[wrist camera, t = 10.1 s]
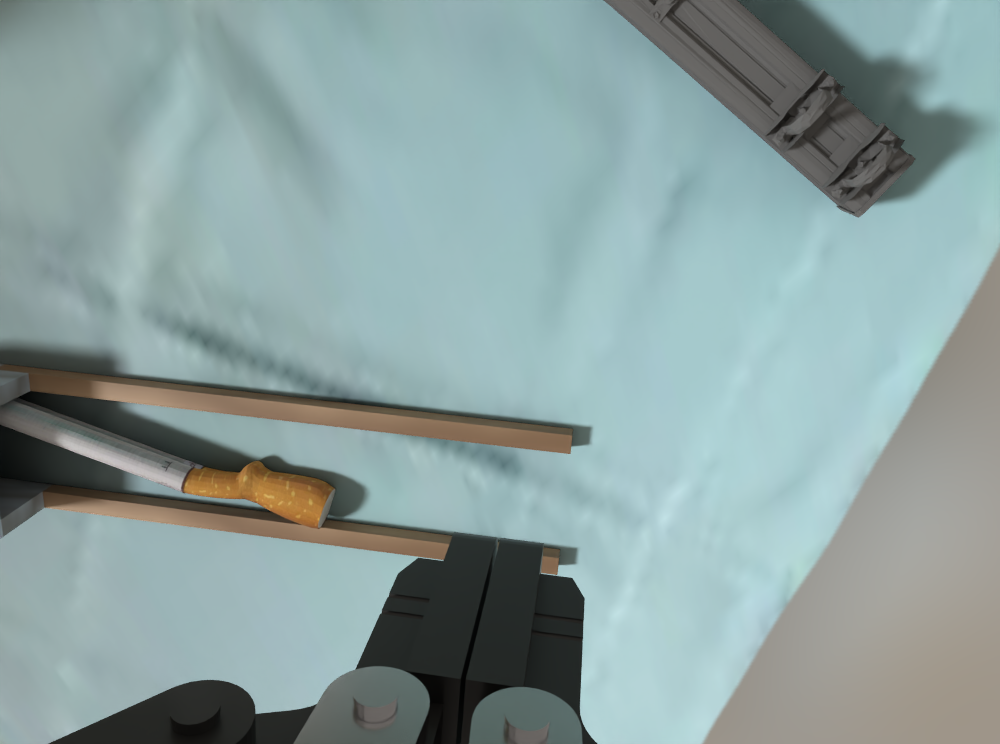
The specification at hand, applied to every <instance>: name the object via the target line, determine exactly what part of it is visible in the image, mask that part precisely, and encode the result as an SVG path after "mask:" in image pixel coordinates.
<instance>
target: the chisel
mask: <svg viewBox="0 0 1000 744" xmlns="http://www.w3.org/2000/svg"><path fill="white" fill-rule="evenodd" d="M0 425H3V426H5V427H8V428H11V429H13V430H16V431H19V432H21V433H24V434H27V435H29V436H32V437H35V438H38V439H40V440H43V441H46V442H48V443H51V444H54V445H56V446H59V447H62V448H65V449H67V450H70V451H73V452H75V453H78V454H81V455H83V456H86V457H89V458H92V459H94V460H97V461H100V462H102V463H105V464H108V465H110V466H113V467H116V468H119V469H121V470H124V471H127V472H129V473H132V474H135V475H137V476H140V477H143V478H146V479H148V480H151V481H154V482H156V483H159V484H162V485H164V486H167V487H170V488H173V489H175V490H178V491H181V492H183V493H188V494H193V495H199V496H206V497H214V498H226V499H247V500H250V501H252V502H255V503H258V504H259V505H261V506H263V507H264V508H266V509H268V510H269V511H271V512H273V513H276V514H278V515H280V516H282V517H284V518H286V519H288V520H291V521H293V522H296V523H298V524H301V525H304V526H307V527H310V528H316V529H320V528H321V527H322V525H323V523H324V521H325V520H326V518H327V515H328V513H329V510H330V507H331V504H332V500H333V497H334V494H335V488H333V487H332V486H331V485H329V484H328V483H327V482H324V481H322V480H319V479H317V478H312V477H307V476H301V475H295V474H288V473H280V472H272V471H271V470H269V469H267V468H266V467H265V466H264V465H263V464H262V463H261V462H260V461H254V462H251V463H250V464H248V465H247V466H245V467H244V468H243V469H242V471H241V472H227V471H221V470H216V469H212V468H208V467H205V466H202V465H200V464H197V463H194V462H191V461H189V460H185V459H182V458H179V457H177V456H174V455H171V454H168V453H166V452H163V451H160V450H158V449H155V448H152V447H150V446H147V445H144V444H141V443H139V442H136V441H133V440H131V439H128V438H125V437H122V436H120V435H117V434H114V433H112V432H109V431H106V430H104V429H101V428H98V427H95V426H93V425H90V424H87V423H85V422H82V421H79V420H76V419H74V418H71V417H68V416H66V415H63V414H60V413H58V412H55V411H52V410H49V409H47V408H44V407H41V406H39V405H36V404H33V403H30V402H28V401H25V400H22V399H20V398H15V399H13V400H11V401H9V402H7V403H5V404H3V405H1V406H0Z"/></svg>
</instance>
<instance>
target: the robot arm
mask: <svg viewBox="0 0 1000 744" xmlns="http://www.w3.org/2000/svg"><path fill="white" fill-rule="evenodd" d="M497 547H498V550H497ZM543 548H544V543H536V542H528V541H520V540H513V539H505V538H501V539H500V542H499V546H498V539H497V538H496V537H488V536H480V535H473V534H465V533H457V532H454V534H453V536H452V538H451V541H450V544H449V547H448V550H447V552H446V555H445V558H444V561H438V560H431V559H423V558H418V559H416V560H415V561H414V562H412V563H411V564H410V565H409V566H407V567H406V568H405V569H403V570H402V571H401V572H400V573H398V575H397V577H396V580H395V582H394V584H393V586H392V589H391V591H390V593H389V597H388V598H387V600H386V602H385V604H384V607H383V609H382V614H380V616H379V618H378V620H377V622H376V625H375V627H374V629H373V631H372V634H371V636H370V638H369V640H368V643H367V645H366V647H365V649H364V652H363V654H362V656H361V658H360V661H359V663H358V665H357V667H356V669H355V670H353V671H350V672H348V673H346V674H344V675H342V676H340V677H339V678H337V679H336V680H334V681H333V682H332V683H331V684H330V685H329V686H328V688H327V689H326V690H325V692H324V693H323V695H322V697H321V698H320V700H319V702H318V703H317V704H316V705H314V706H311V707H307V708H303V709H298V710H291V711H281V712H271V713H261V714H255V705H254V702H253V699H252V698H251V696H250V695H249V694H248V693H247V692H246V691H245V690H244V689H243V688H241V687H239V686H237V685H235V684H232V683H229V682H224V681H219V680H201V681H194V682H189V683H186V684H182V685H179V686H176V687H174V688H171V689H169V690H167V691H165V692H162V693H160V694H158V695H156V696H153V697H151V698H149V699H147V700H145V701H142V702H140V703H138V704H136V705H133V706H131V707H129V708H127V709H125V710H122V711H120V712H118V713H116V714H113V715H111V716H109V717H107V718H105V719H102V720H100V721H98V722H96V723H93V724H91V725H89V726H87V727H85V728H82V729H80V730H78V731H76V732H73V733H71V734H69V735H67V736H65V737H62V738H60V739H58V740H56V741H53V742H51V743H49V744H597V743H596V742H595V741H594V740H593V739H592V738H591V736H590V735H589V734H588V732H587V731H586V729H585V727H584V725H583V723H582V720H581V716H580V689H581V667H582V644H583V642H582V640H583V620H584V597H583V595H582V593H581V592H580V590H579V588H578V587H577V585H576V583H575V582H574V580H573V578H568V577H560V576H553V575H545V574H541V568H542V558H543Z"/></svg>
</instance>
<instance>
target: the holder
mask: <svg viewBox="0 0 1000 744" xmlns="http://www.w3.org/2000/svg"><path fill="white" fill-rule="evenodd" d="M29 391H35V392H44V393H52V394H61V395H70V396H78V397H87V398H95V399H104V400H112V401H121V402H129V403H138V404H147V405H155V406H164V407H172V408H181V409H189V410H198V411H207V412H215V413H224V414H232V415H241V416H249V417H258V418H267V419H275V420H284V421H292V422H301V423H309V424H318V425H326V426H335V427H344V428H352V429H361V430H369V431H378V432H386V433H395V434H404V435H412V436H421V437H429V438H438V439H446V440H455V441H463V442H472V443H481V444H489V445H498V446H506V447H515V448H523V449H532V450H541V451H549V452H558V453H566V454H570V453H571V443H572V434H573V429H570V428H561V427H552V426H543V425H534V424H526V423H517V422H508V421H499V420H491V419H482V418H473V417H464V416H455V415H447V414H438V413H429V412H420V411H411V410H403V409H394V408H385V407H376V406H367V405H359V404H350V403H341V402H332V401H324V400H315V399H306V398H297V397H288V396H280V395H271V394H262V393H253V392H244V391H236V390H227V389H218V388H209V387H200V386H192V385H183V384H174V383H165V382H157V381H148V380H139V379H130V378H121V377H113V376H104V375H95V374H86V373H77V372H69V371H60V370H51V369H42V368H33V367H25V366H16V365H7V364H0V406H1V405H3V404H5V403H7V402H9V401H11V400H13V399H15V398H17V397H19V396H21V395H23V394H25V393H27V392H29ZM43 508H52V509H60V510H67V511H75V512H82V513H90V514H98V515H105V516H113V517H121V518H128V519H136V520H143V521H151V522H159V523H166V524H174V525H182V526H189V527H197V528H204V529H212V530H220V531H227V532H235V533H243V534H250V535H258V536H265V537H273V538H281V539H288V540H296V541H303V542H311V543H319V544H326V545H334V546H342V547H349V548H357V549H364V550H372V551H380V552H387V553H395V554H403V555H410V556H418V557H425V558H433V559H441V560H444V558H445V555H446V552H447V550H448V547H449V544H450V541H451V538H452V536H451V535H443V534H435V533H427V532H419V531H412V530H404V529H396V528H388V527H380V526H373V525H365V524H357V523H349V522H341V521H334V520H325V521H324V523H323V525H322V527H321V528H320V529H316V528H310V527H307V526H304V525H301V524H298V523H296V522H293V521H291V520H288V519H286V518H284V517H282V516H280V515H278V514H276V513H271V512H263V511H256V510H248V509H240V508H232V507H224V506H217V505H209V504H201V503H193V502H185V501H178V500H170V499H162V498H154V497H146V496H139V495H131V494H123V493H115V492H107V491H100V490H92V489H84V488H76V487H68V486H61V485H53V484H45V483H37V482H29V481H22V480H14V479H6V478H0V539H1V538H2V537H4V536H5V535H6V534H8V533H9V532H11V531H12V530H13V529H15V528H16V527H18V526H19V525H20V524H22V523H23V522H25V521H26V520H28V519H29V518H30V517H32V516H33V515H35V514H36V513H37V512H39V511H40V510H42V509H43ZM498 546H499V542H498ZM497 550H498V547H497ZM559 554H560V549H552V548H543V558H542V568H541V573H547V574H555V575H557V572H558V563H559Z"/></svg>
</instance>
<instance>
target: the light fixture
mask: <svg viewBox="0 0 1000 744" xmlns="http://www.w3.org/2000/svg"><path fill="white" fill-rule="evenodd" d="M604 1H605V2H606V3H608V4H609V5H610V6H611V7H612V8H613V9H615V10H616V11H617V12H618V13H619V14H620V15H621V16H623V17H624V18H625V19H626V20H627V21H628V22H630V23H631V24H632V25H633V26H634V27H635V28H637V29H638V30H639V31H640V32H641V33H642V34H643V35H644V36H646V37H647V38H648V39H649V40H650V41H651V42H652V43H654V44H655V45H656V46H657V47H658V48H659V49H660V50H662V51H663V52H664V53H665V54H666V55H667V56H668V57H670V58H671V59H672V60H673V61H674V62H675V63H676V64H677V65H679V66H680V67H681V68H682V69H683V70H684V71H685V72H687V73H688V74H689V75H690V76H691V77H692V78H693V79H695V80H696V81H697V82H698V83H699V84H700V85H701V86H703V87H704V88H705V89H706V90H707V91H708V92H709V93H710V94H712V95H713V96H714V97H715V98H716V99H717V100H718V101H720V102H721V103H722V104H723V105H724V106H725V107H726V108H728V109H729V110H730V111H731V112H732V113H733V114H734V115H736V116H737V117H738V118H739V119H740V120H741V121H742V122H744V123H745V124H746V125H747V126H748V127H749V128H750V129H751V130H753V131H754V132H755V133H756V134H757V135H758V136H759V137H761V138H762V139H763V140H764V141H765V142H766V143H767V144H769V145H770V146H771V147H772V148H773V149H774V150H775V151H777V152H778V153H779V154H780V155H781V156H782V157H783V158H784V159H786V160H787V161H788V162H789V163H790V164H791V165H792V166H794V167H795V168H796V169H797V170H798V171H799V172H800V173H802V174H803V175H804V176H805V177H806V178H807V179H808V180H810V181H811V182H812V183H813V184H814V185H815V186H816V187H817V188H819V189H820V190H821V191H822V192H823V193H824V194H825V195H827V196H828V197H829V198H830V199H831V200H832V201H833V202H835V203H836V204H837V205H838V206H837V207H838V208H839V209H840V210H842V211H845V212H847V213H849V214H852V215H854V216H856V217H860V216H861V215H863V214H864V213H865V212H866V211H867V210H868V209H869V208H870V207H871V206H872V205H873V204H874V203H875V201H876V200H877V199H878V198H879V197H880V196H881V195H882V194H883V193H884V192H885V191H886V190H887V189H888V188H889V187H890V186H891V185H892V184H893V183H894V182H895V181H896V180H897V179H898V178H899V177H900V176H901V175H902V174H903V173H904V172H905V171H906V170H907V169H908V168H909V167H910V166H911V164H912V163H913V162H914V160H915V158H914V157H913V156H912V155H909V154H908V153H906V152H905V151H904V150H903V149H902V148H901V145H902V144H903V142H904V141H905V140H902V139H899V138H898V136H897V135H895V134H894V133H893V132H892V131H890V130H889V129H888V128H887V127H886V126H885V124H886V123H881V124H880V125H879V126H878V127H877V126H876V125H875V124H874V123H873V122H872V121H871V120H870V119H869V118H867V117H866V116H865V115H864V114H863V113H862V112H861V111H860V110H859V109H857V108H856V107H855V106H854V105H853V104H852V103H851V102H850V101H849V100H847V99H846V98H845V97H844V96H843V95H842V94H841V93H840V92H841V90H842V89H843V88H844V86H841V85H839V84H838V83H837V81H836V80H835V79H834V77H832V76H830V75H828V74H827V73H826V72H825V71H824V70H825V69H822V70H821V71H820V72H819V73H817V72H816V71H815V70H814V69H813V68H812V67H811V66H810V65H809V64H807V63H806V62H805V61H804V60H803V59H802V58H801V57H800V56H799V55H797V54H796V53H795V52H794V51H793V50H792V49H791V48H790V47H789V46H787V45H786V44H785V43H784V42H783V41H782V40H781V39H780V38H779V37H777V36H776V35H775V34H774V33H773V32H772V31H771V30H770V29H769V28H767V27H766V26H765V25H764V24H763V23H762V22H761V21H760V20H758V19H757V18H756V17H755V16H754V15H753V14H752V13H751V12H750V11H748V10H747V9H746V8H745V7H744V6H743V5H742V4H741V3H740V2H738V1H737V0H604Z"/></svg>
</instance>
